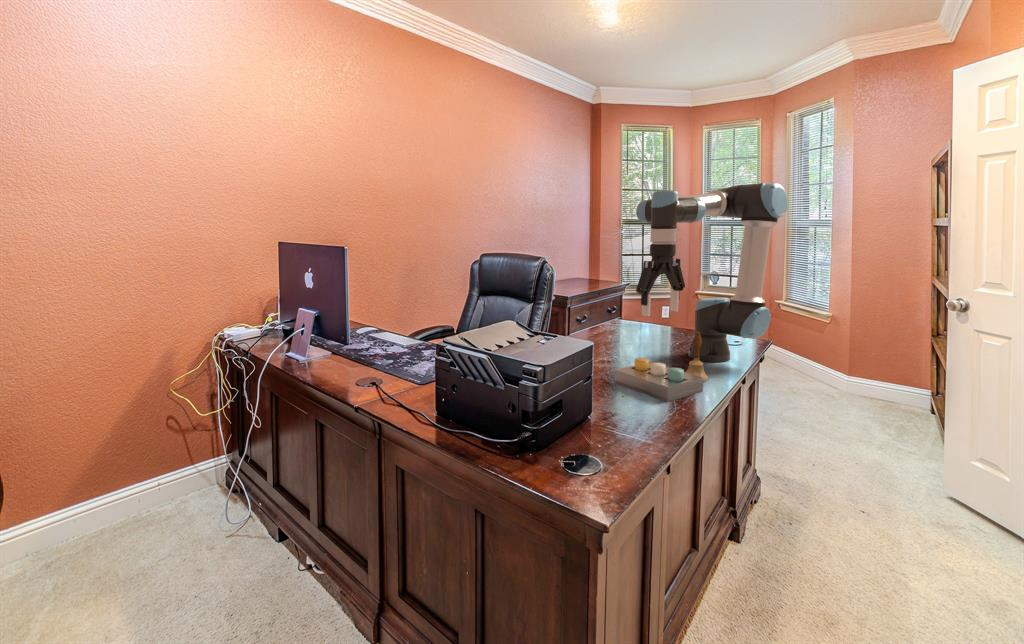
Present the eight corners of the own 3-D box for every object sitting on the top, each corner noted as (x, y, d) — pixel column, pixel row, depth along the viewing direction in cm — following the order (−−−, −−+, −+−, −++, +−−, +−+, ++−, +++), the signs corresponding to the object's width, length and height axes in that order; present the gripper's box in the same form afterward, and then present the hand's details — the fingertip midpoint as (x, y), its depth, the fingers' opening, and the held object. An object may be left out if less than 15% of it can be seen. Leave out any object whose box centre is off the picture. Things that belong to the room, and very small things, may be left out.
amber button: (641, 370, 171) (641, 357, 170) (651, 373, 167) (652, 360, 166) (631, 372, 169) (631, 359, 168) (641, 375, 165) (642, 362, 164)
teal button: (674, 380, 160) (675, 366, 159) (686, 384, 156) (687, 370, 155) (664, 383, 157) (664, 369, 156) (676, 387, 153) (677, 372, 152)
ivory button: (657, 375, 165) (657, 361, 165) (668, 378, 162) (668, 365, 161) (647, 377, 163) (647, 364, 162) (658, 381, 159) (658, 367, 158)
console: (648, 374, 176) (649, 362, 175) (702, 391, 158) (703, 377, 157) (614, 382, 168) (615, 369, 167) (667, 402, 150) (668, 387, 149)
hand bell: (710, 382, 167) (713, 335, 164) (684, 381, 169) (686, 334, 166) (706, 374, 175) (708, 329, 172) (680, 373, 177) (683, 329, 174)
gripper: (679, 241, 163) (676, 307, 168) (624, 244, 151) (623, 316, 155) (699, 241, 157) (695, 310, 161) (644, 245, 144) (641, 319, 149)
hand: (660, 313), depth 158 cm, fingers open, 12 cm apart
